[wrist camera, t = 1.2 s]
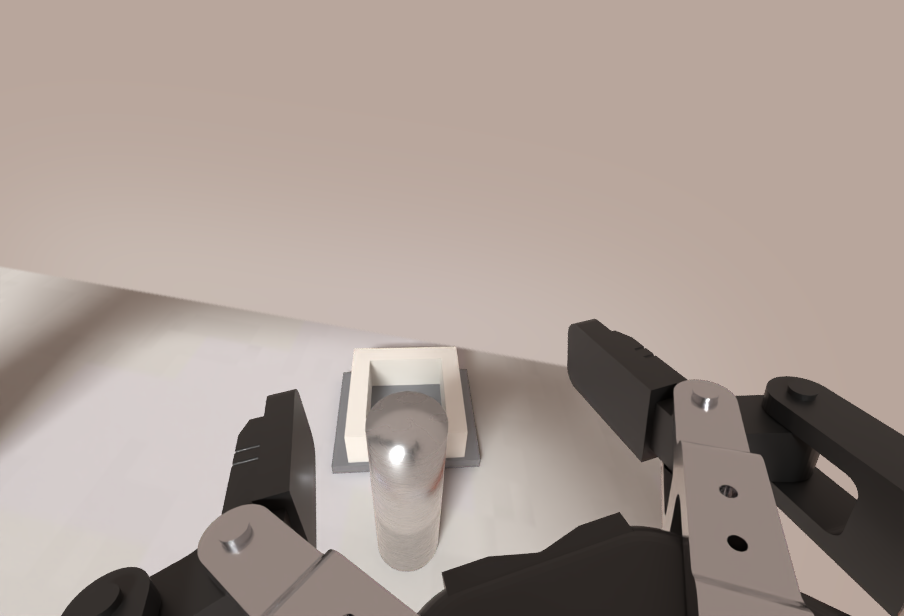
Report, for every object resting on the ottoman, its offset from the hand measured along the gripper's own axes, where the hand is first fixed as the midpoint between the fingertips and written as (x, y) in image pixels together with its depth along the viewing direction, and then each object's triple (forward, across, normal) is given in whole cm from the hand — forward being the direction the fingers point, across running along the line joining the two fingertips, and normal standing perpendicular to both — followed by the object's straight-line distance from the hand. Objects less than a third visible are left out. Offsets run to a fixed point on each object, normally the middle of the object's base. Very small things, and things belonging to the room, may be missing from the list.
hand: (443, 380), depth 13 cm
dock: (+22, 0, +19) cm, 29 cm away
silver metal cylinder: (+12, +2, +22) cm, 25 cm away
